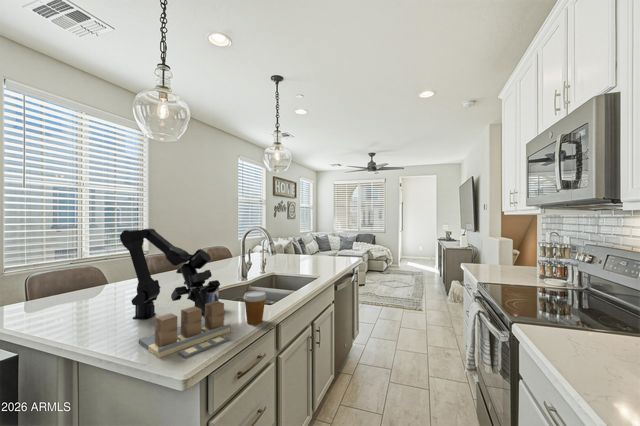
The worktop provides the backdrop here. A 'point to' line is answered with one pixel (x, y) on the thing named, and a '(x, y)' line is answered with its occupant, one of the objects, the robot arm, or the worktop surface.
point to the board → (182, 340)
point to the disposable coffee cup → (254, 306)
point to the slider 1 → (165, 329)
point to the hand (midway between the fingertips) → (204, 307)
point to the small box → (209, 299)
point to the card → (203, 346)
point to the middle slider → (191, 321)
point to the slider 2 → (214, 315)
